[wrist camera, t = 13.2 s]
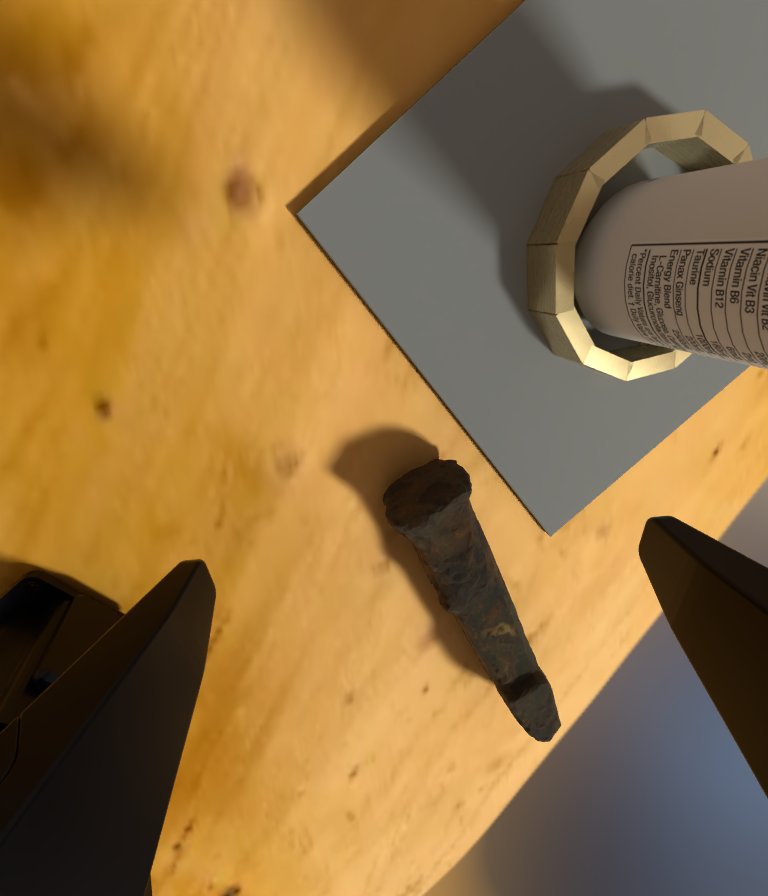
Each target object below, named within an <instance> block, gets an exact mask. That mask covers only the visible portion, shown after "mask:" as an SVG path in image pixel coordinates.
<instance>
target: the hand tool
mask: <svg viewBox="0 0 768 896" xmlns="http://www.w3.org/2000/svg"><path fill="white" fill-rule="evenodd" d="M471 486H472V484H471V482H470V476H469V474H468V473H467V472H466V471H465V469H464V468H463V467H461V466H460V465H458V464H457V461H456V460H439V459H435V460H433V461H431V462H429V463H428V464H426V465H424V466H422V467H420V468H417V469H414V470H412V471H410V472H409V473H407V474H406V475H404V476H403V477H401V478H400V479H398V480H397V481H396V482H395V483H394V484H392V485H391V486H390V487H389V488H388V489H387V491H386V492H385V494H384V496H383V503H384V504H385V505H386V512H385V515H386V518H387V521H388V523H389V524H390V525H391V526H392V527H393V528H394V529H395V530H397V531H398V532H400V533H402V534H403V535H405V536H406V537H407V538H408V539H409V540H411V541H412V542H413V546H414V547H415V549H416V551H417V553H418V555H419V559H420V561H421V562H422V564H423V566H424V568H425V570H426V572H427V575H428V578H429V580H430V582H431V583H432V584H433V586H434V588H435V589H436V590H437V593H438V599H439V602H440V604H441V606H442V607H443V608H444V609H445V610H446V611H447V612H452V613H453V615H454V616H455V618H456V619H457V621H458V623H459V625H460V626H461V628H462V629H463V631H464V633H465V635H466V637H467V638H468V640H469V642H470V644H471V646H472V647H473V649H474V651H475V653H476V654H477V656H478V658H479V660H480V662H481V663H482V665H483V667H484V669H485V670H486V672H487V673H488V674H489V676H490V678H491V680H492V681H493V682H494V684H495V686H496V688H497V691H498V692H499V694H500V696H501V697H502V698H503V700H504V702H505V703H506V705H507V706H508V708H509V710H510V711H511V713H512V714H513V716H514V717H515V718H516V720H517V721H518V723H519V724H520V725H521V726H522V727H523V728H524V730H525V731H526V732H527V733H528V734H529V735H530V736H531V737H534V738H535V739H536V740H537V741H541V742H548V741H550V740H551V739H552V738H553V736H554V734H555V733H556V732H557V731H558V729H559V728H560V726H561V723H560V719H559V716H558V711H557V707H556V704H555V699H554V695H553V691H552V688H551V685H550V683H549V682H548V680H547V678H546V676H545V674H544V673H543V672H542V670H541V669H540V667H539V666H538V664H537V661H536V658H535V655H534V653H533V651H532V649H531V647H530V645H529V642H528V640H527V638H526V636H525V634H524V630H523V627H522V625H521V623H520V620H519V618H518V615H517V612H516V609H515V606H514V604H513V602H512V600H511V597H510V595H509V592H508V590H507V587H506V585H505V582H504V580H503V578H502V575H501V573H500V570H499V568H498V566H497V564H496V561H495V559H494V556H493V553H492V551H491V549H490V546H489V544H488V542H487V540H486V537H485V535H484V533H483V530H482V528H481V526H480V523H479V521H478V520H477V518H476V515H475V513H474V511H473V509H472V506H471V503H470V500H469V497H470V495H471V491H472V489H471Z"/></svg>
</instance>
